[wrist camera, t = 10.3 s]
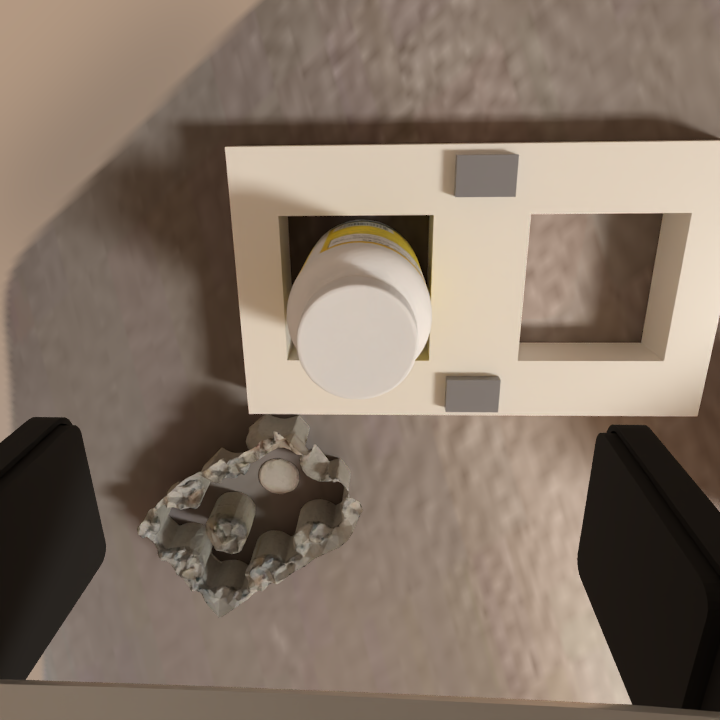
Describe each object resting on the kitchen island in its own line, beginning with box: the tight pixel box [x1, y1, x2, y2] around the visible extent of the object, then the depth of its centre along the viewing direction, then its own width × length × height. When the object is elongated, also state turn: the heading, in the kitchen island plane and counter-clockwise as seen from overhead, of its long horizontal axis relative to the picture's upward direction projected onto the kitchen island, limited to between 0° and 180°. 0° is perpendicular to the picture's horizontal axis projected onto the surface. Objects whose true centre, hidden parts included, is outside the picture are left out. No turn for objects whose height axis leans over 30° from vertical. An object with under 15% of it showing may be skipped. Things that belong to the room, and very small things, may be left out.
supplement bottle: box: [287, 220, 432, 399], centre depth 23 cm, size 5×5×10 cm
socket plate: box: [225, 140, 720, 416], centre depth 26 cm, size 12×21×3 cm, turn 91°
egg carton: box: [137, 414, 363, 618], centre depth 31 cm, size 11×8×4 cm
